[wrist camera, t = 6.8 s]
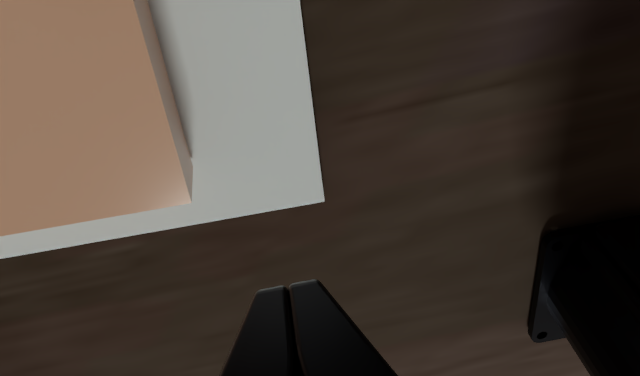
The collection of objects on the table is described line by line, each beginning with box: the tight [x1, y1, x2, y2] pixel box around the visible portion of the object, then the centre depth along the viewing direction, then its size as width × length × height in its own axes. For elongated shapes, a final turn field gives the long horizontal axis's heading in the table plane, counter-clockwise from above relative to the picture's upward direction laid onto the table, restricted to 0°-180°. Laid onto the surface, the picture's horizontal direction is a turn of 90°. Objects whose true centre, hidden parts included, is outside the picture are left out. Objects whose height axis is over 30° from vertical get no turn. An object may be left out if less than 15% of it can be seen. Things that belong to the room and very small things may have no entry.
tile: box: [0, 0, 193, 236], centre depth 16 cm, size 9×2×8 cm
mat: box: [0, 0, 325, 259], centre depth 17 cm, size 14×14×1 cm
